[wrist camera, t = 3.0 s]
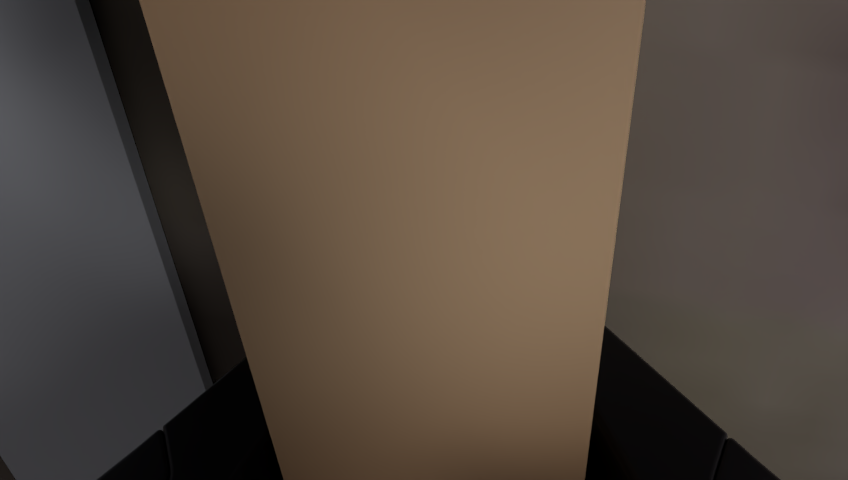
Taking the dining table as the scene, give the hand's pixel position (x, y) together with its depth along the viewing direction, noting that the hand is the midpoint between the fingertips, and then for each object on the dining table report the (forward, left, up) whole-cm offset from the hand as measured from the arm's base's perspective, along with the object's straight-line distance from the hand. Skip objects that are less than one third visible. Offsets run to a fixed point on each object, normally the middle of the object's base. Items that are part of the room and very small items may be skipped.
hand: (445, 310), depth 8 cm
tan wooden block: (0, 0, -1) cm, 1 cm away
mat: (-2, +10, -4) cm, 11 cm away
